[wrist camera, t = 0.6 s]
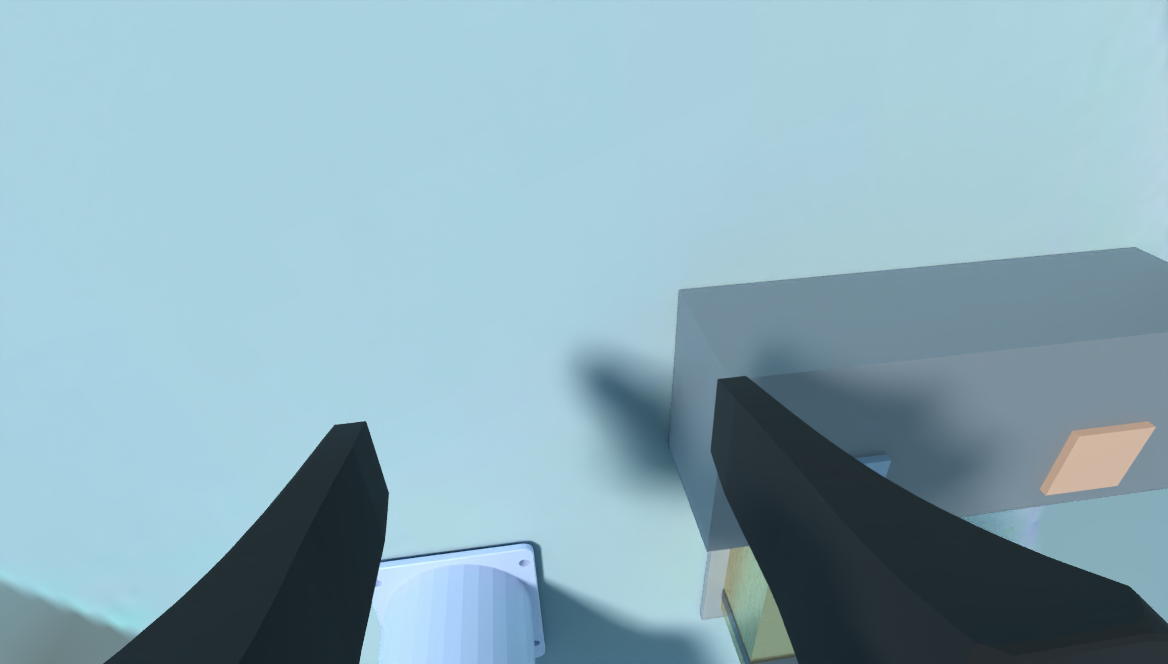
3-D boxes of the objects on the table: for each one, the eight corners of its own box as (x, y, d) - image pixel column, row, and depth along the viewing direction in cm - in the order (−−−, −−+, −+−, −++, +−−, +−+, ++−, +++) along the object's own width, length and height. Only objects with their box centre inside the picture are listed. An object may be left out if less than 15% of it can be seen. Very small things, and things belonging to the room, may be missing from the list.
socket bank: (1055, 400, 29) (1174, 494, 24) (668, 446, 27) (709, 559, 22) (1135, 247, 24) (1300, 323, 19) (678, 290, 22) (733, 386, 17)
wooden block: (789, 597, 34) (823, 669, 30) (719, 607, 34) (746, 682, 30) (818, 486, 29) (862, 558, 26) (737, 497, 29) (771, 571, 25)
